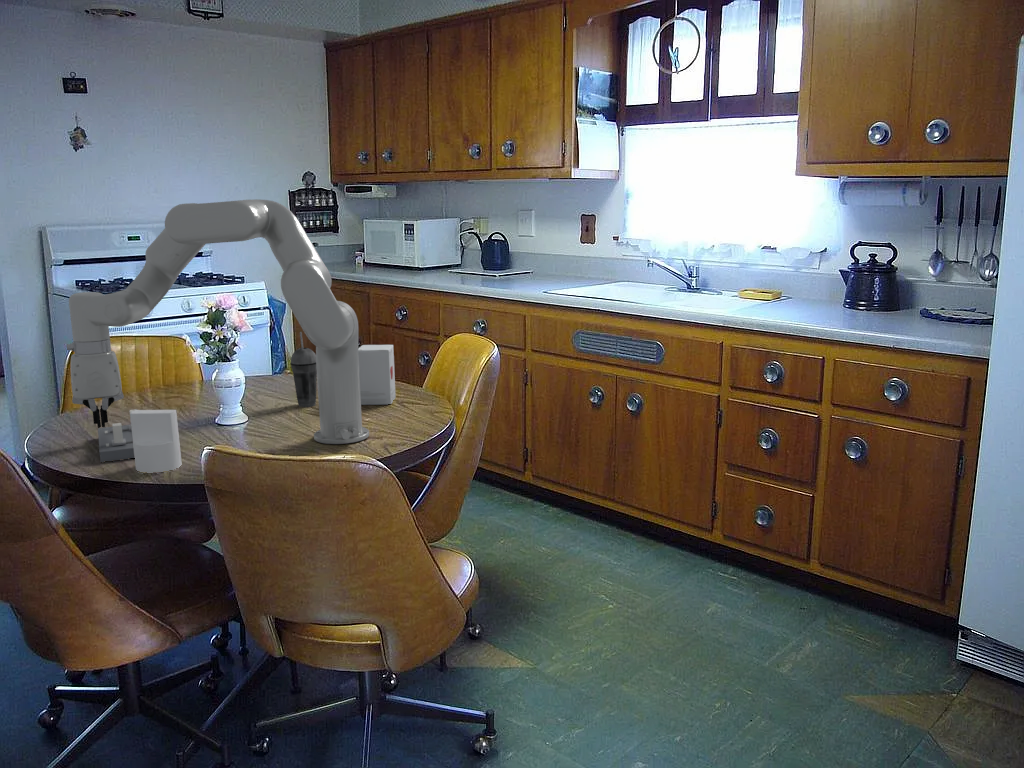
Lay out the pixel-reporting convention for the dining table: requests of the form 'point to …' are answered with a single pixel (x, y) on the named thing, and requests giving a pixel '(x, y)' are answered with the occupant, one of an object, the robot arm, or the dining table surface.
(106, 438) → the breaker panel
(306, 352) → the beverage cup
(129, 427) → the breaker
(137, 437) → the grey upright block
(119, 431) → the block
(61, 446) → the dining table surface
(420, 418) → the dining table surface
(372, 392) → the supplement box
